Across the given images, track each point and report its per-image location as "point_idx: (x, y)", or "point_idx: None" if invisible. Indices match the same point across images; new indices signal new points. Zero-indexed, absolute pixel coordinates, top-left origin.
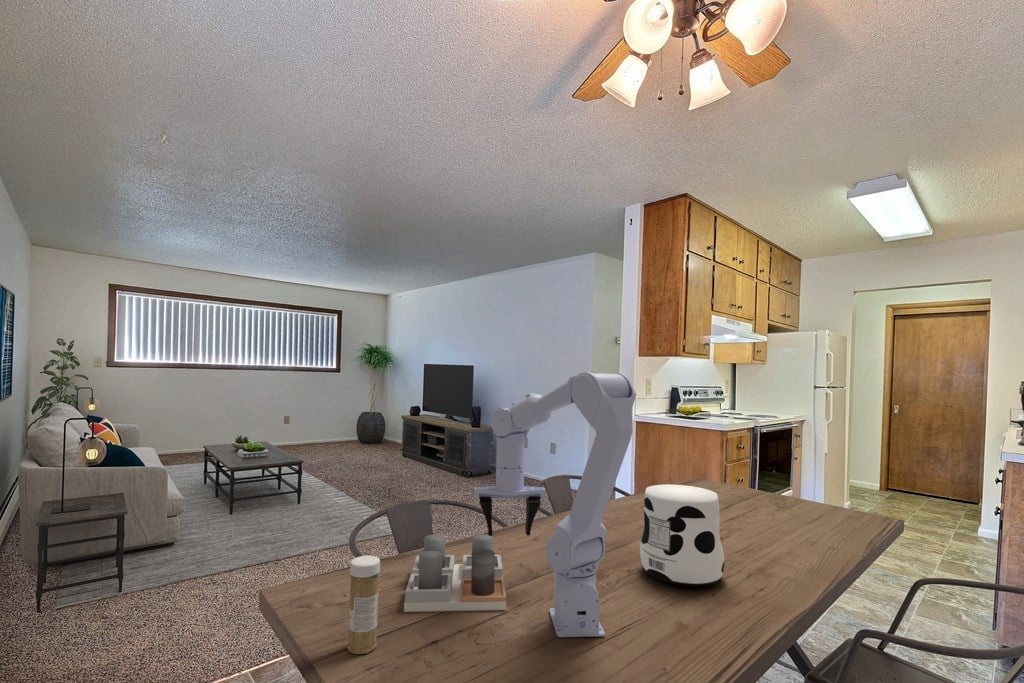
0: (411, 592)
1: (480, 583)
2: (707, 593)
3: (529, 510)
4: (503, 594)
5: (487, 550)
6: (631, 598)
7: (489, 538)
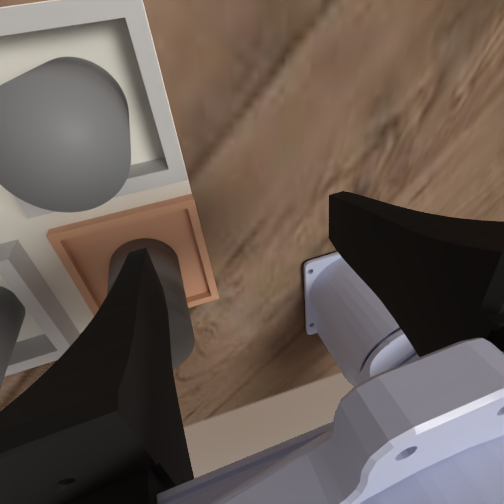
0: None
1: None
2: None
3: (420, 349)
4: (210, 289)
5: None
6: (479, 162)
7: (111, 162)
